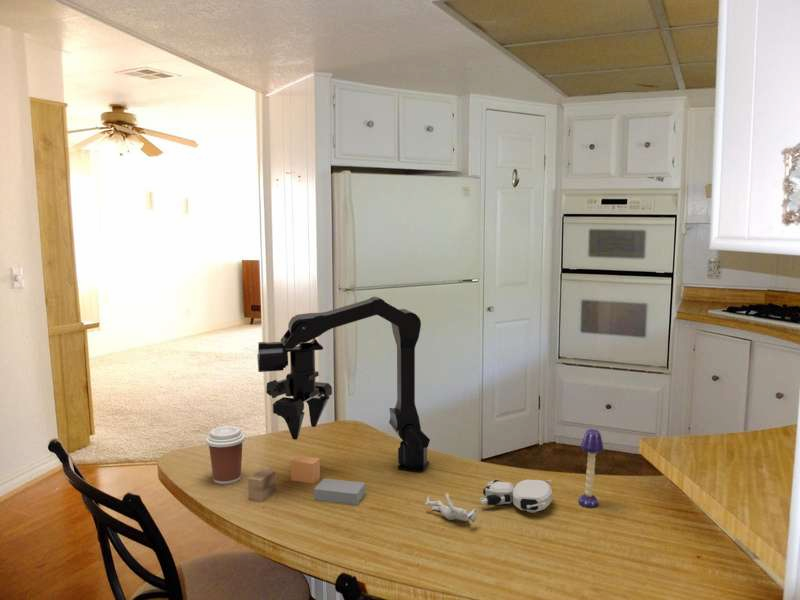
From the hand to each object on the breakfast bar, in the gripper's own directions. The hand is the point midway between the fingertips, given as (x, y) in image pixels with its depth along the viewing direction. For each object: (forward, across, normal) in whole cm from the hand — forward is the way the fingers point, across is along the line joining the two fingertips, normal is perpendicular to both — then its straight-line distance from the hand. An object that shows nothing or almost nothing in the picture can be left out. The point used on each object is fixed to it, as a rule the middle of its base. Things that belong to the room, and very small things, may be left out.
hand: (304, 432), depth 150 cm
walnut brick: (+12, +11, -5) cm, 17 cm away
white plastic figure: (+12, +8, +38) cm, 41 cm away
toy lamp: (+12, -9, +65) cm, 67 cm away
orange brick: (+12, 0, 0) cm, 12 cm away
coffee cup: (+12, +6, -18) cm, 22 cm away
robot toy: (+12, -4, +50) cm, 51 cm away
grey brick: (+12, +6, +12) cm, 18 cm away
